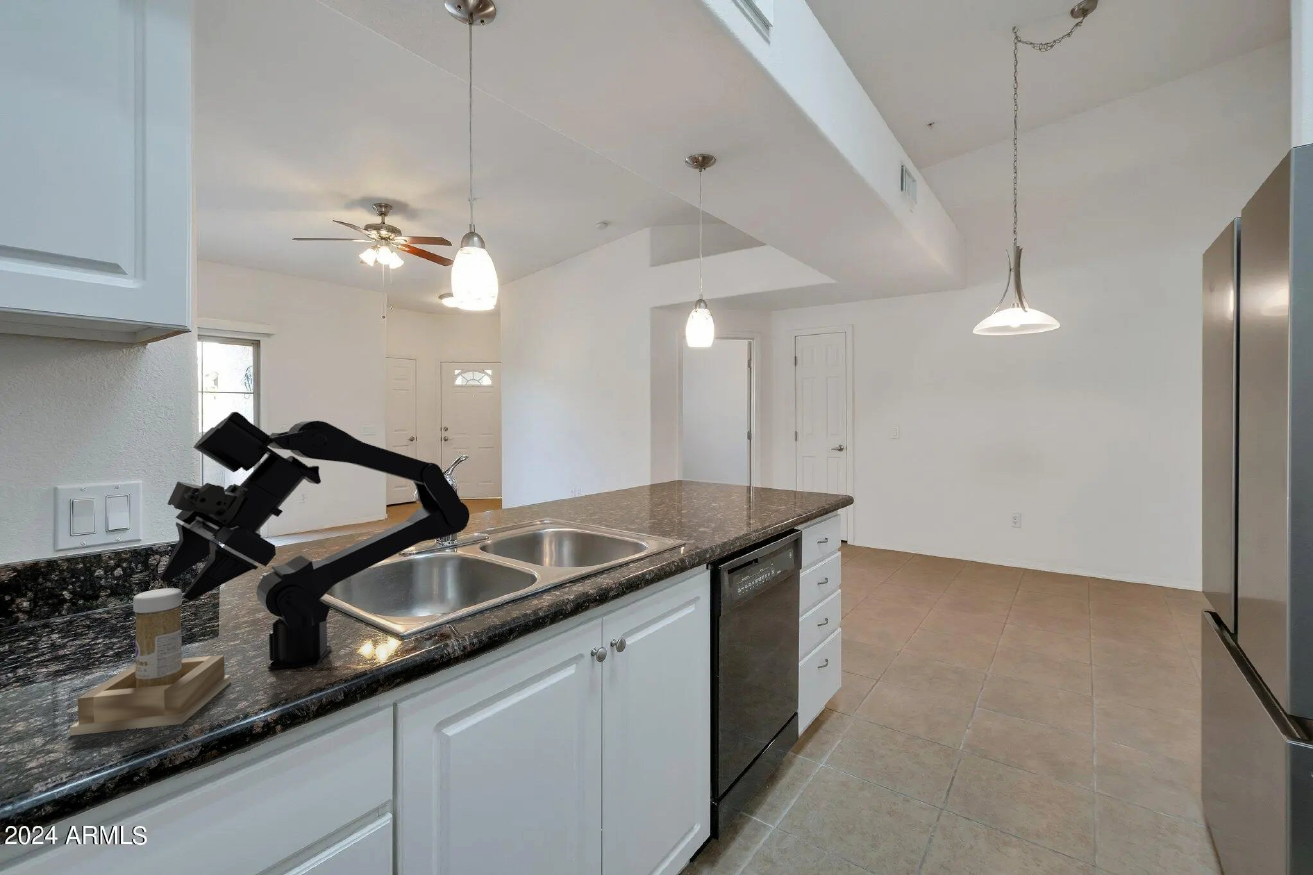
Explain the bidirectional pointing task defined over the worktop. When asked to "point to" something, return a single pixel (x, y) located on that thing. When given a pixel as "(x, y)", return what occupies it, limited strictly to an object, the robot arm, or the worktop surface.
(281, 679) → the worktop surface
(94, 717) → the caddy
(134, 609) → the sprinkles bottle
